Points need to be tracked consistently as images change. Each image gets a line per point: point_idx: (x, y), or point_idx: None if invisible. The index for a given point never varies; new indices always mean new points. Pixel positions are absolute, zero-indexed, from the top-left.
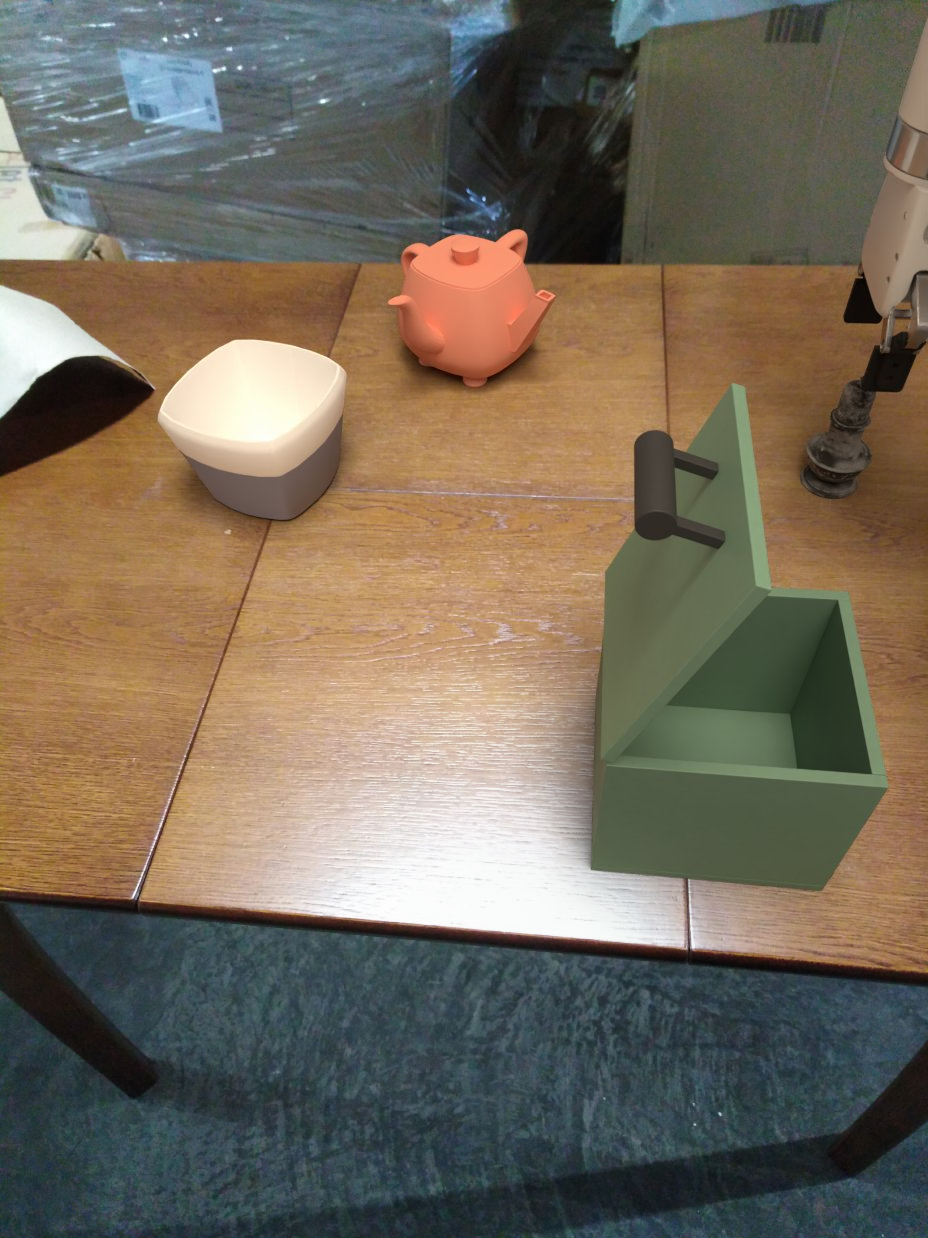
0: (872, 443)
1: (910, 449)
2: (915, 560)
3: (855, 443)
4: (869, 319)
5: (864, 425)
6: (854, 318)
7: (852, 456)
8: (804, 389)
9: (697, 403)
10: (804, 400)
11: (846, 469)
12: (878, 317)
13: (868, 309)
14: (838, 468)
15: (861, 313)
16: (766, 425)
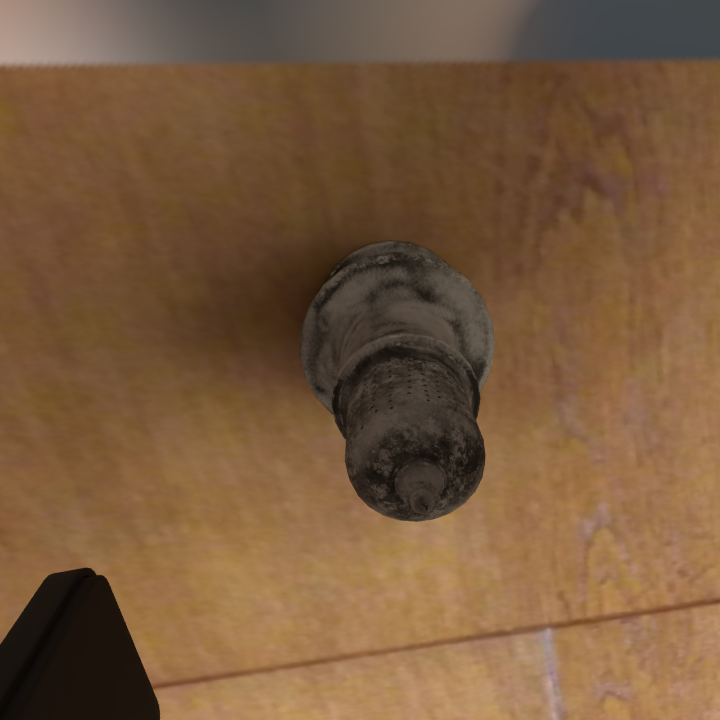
0: (191, 206)
1: (181, 89)
2: (679, 69)
3: (445, 340)
4: (116, 640)
5: (451, 359)
6: (142, 708)
7: (449, 322)
8: (11, 402)
9: (179, 625)
10: (62, 398)
11: (484, 325)
12: (92, 612)
13: (99, 717)
14: (485, 348)
15: (119, 714)
16: (209, 477)
